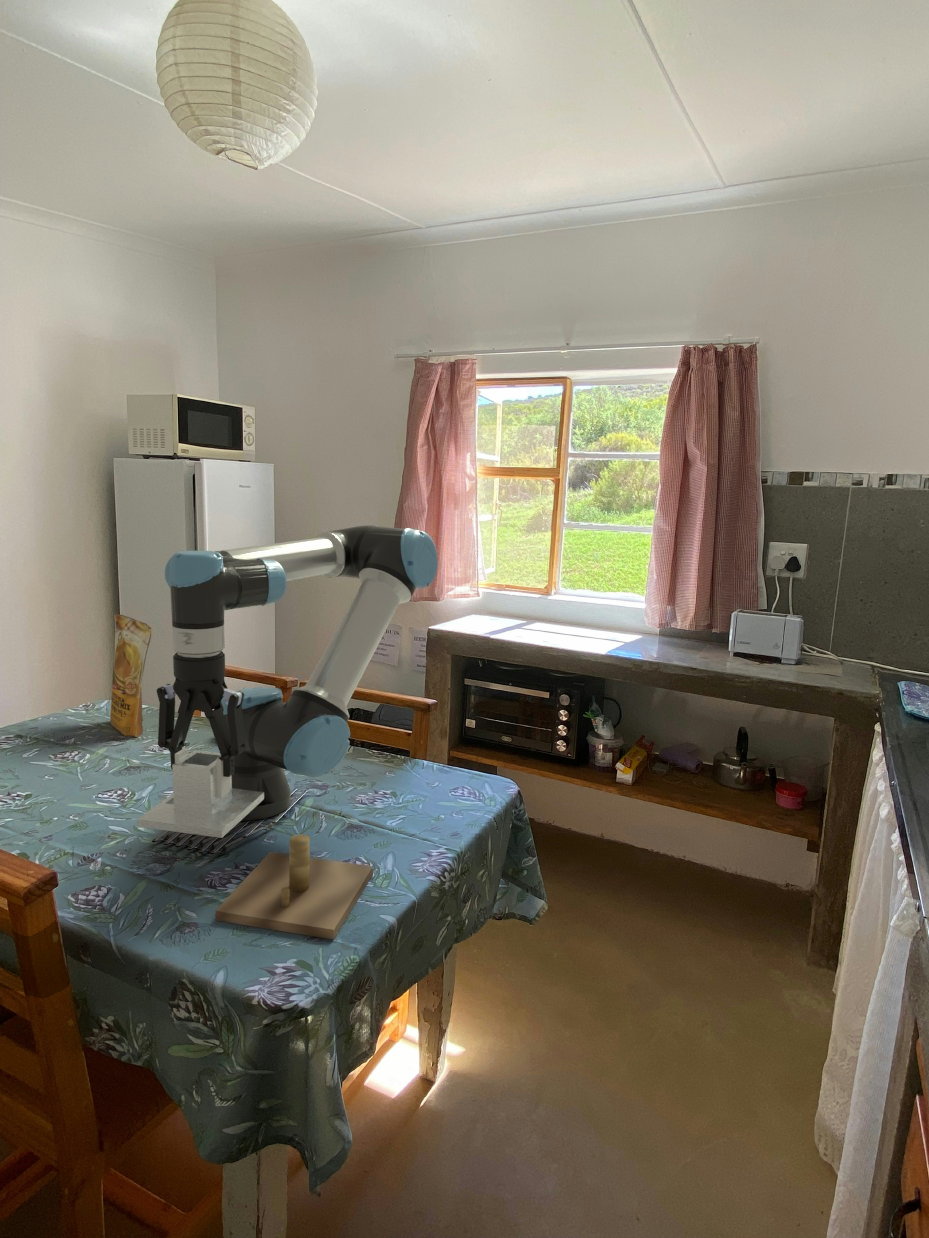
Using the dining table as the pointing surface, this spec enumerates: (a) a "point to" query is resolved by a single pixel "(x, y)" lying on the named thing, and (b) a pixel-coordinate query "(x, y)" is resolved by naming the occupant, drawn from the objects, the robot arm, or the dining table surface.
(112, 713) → the pancake mix bag
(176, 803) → the flange
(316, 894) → the post board
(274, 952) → the dining table surface
